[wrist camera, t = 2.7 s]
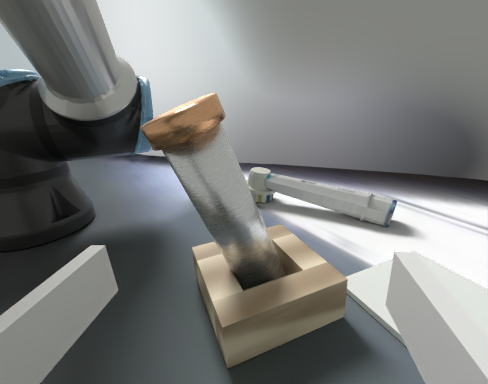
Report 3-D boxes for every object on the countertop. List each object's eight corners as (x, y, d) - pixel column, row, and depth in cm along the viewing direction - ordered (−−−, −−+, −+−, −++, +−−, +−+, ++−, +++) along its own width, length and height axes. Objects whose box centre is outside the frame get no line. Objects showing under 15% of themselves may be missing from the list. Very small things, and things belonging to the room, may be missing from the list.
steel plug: (233, 286, 26) (137, 125, 18) (275, 257, 27) (202, 94, 19) (257, 325, 21) (142, 131, 13) (306, 287, 23) (228, 90, 14)
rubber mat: (337, 284, 25) (337, 280, 25) (413, 255, 29) (414, 250, 28) (462, 396, 15) (464, 390, 15) (552, 331, 19) (555, 325, 19)
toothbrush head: (395, 207, 32) (238, 164, 45) (380, 249, 35) (237, 197, 47) (399, 194, 36) (254, 158, 49) (385, 232, 39) (252, 189, 51)
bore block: (196, 278, 27) (191, 247, 26) (281, 253, 31) (281, 224, 29) (227, 368, 18) (222, 327, 16) (343, 316, 21) (347, 279, 20)
